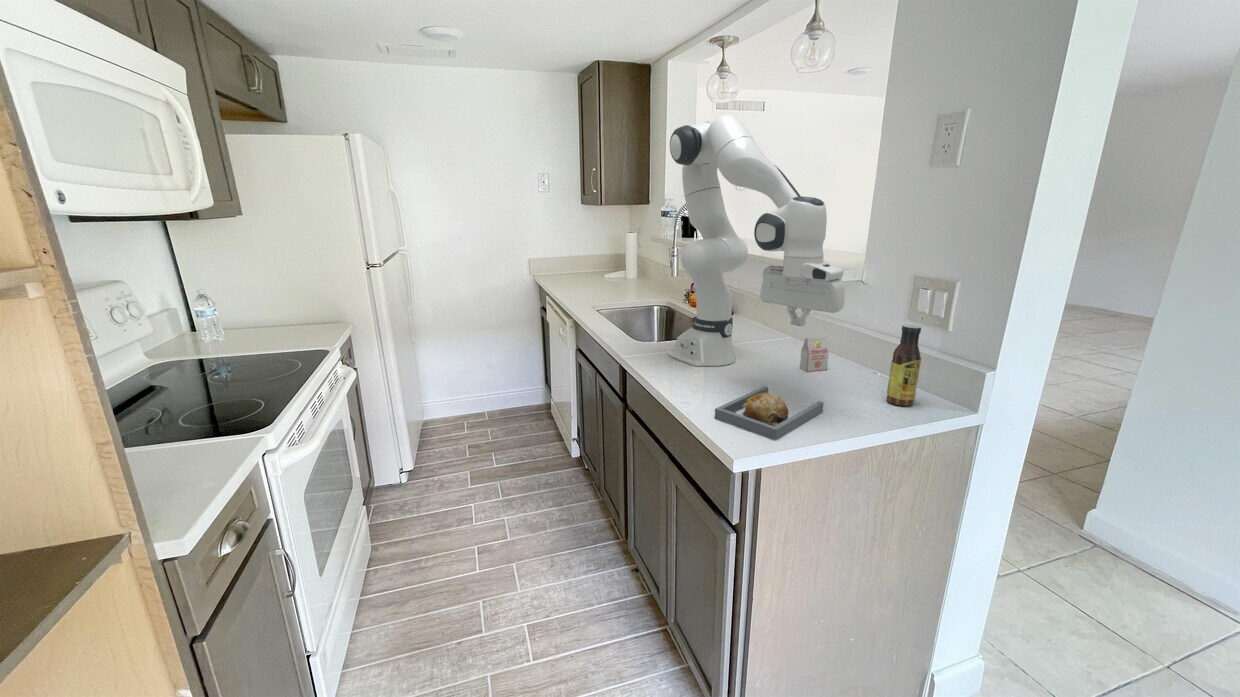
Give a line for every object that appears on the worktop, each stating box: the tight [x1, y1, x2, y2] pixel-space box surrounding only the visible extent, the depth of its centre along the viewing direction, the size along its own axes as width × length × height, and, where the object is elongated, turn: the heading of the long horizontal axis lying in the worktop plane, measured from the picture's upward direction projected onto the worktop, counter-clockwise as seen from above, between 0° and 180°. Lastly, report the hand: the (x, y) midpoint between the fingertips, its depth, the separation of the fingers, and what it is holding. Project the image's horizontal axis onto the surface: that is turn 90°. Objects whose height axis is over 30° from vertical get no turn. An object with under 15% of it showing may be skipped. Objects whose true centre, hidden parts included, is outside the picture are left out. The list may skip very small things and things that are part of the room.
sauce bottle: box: [886, 324, 922, 407], centre depth 126 cm, size 6×6×20 cm
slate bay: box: [714, 385, 825, 441], centre depth 123 cm, size 16×21×2 cm
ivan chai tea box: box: [799, 336, 830, 373], centre depth 153 cm, size 4×7×10 cm, turn 100°
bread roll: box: [742, 392, 789, 426], centre depth 121 cm, size 10×10×8 cm
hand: (797, 325), depth 124 cm, fingers closed
